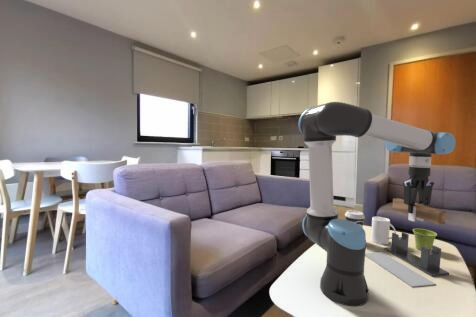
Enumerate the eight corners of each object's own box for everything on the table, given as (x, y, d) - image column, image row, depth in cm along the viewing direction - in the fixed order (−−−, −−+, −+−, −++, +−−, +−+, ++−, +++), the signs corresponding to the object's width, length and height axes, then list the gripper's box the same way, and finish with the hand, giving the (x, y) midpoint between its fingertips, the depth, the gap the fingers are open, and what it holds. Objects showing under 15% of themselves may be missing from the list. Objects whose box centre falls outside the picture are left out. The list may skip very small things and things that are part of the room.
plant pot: (440, 254, 112) (441, 236, 112) (418, 252, 114) (419, 234, 113) (428, 246, 122) (429, 229, 121) (407, 244, 123) (408, 227, 123)
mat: (411, 287, 85) (411, 286, 85) (362, 253, 111) (362, 253, 111) (435, 285, 87) (435, 283, 87) (381, 252, 113) (381, 251, 113)
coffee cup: (364, 239, 128) (365, 211, 127) (362, 245, 120) (364, 216, 119) (345, 235, 133) (346, 209, 132) (342, 241, 125) (343, 213, 124)
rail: (437, 224, 93) (438, 211, 92) (392, 208, 114) (392, 198, 114) (445, 223, 93) (446, 211, 93) (398, 208, 115) (399, 198, 115)
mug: (399, 245, 122) (400, 222, 121) (388, 248, 118) (389, 224, 117) (377, 237, 132) (378, 215, 132) (366, 239, 129) (368, 217, 128)
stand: (431, 276, 93) (433, 252, 92) (384, 249, 116) (385, 230, 116) (449, 275, 94) (451, 251, 93) (398, 248, 118) (399, 229, 117)
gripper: (410, 167, 98) (406, 223, 99) (444, 167, 100) (440, 222, 102) (395, 165, 105) (392, 218, 106) (427, 166, 108) (423, 217, 109)
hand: (415, 220), depth 104 cm, fingers closed on rail, 3 cm apart
